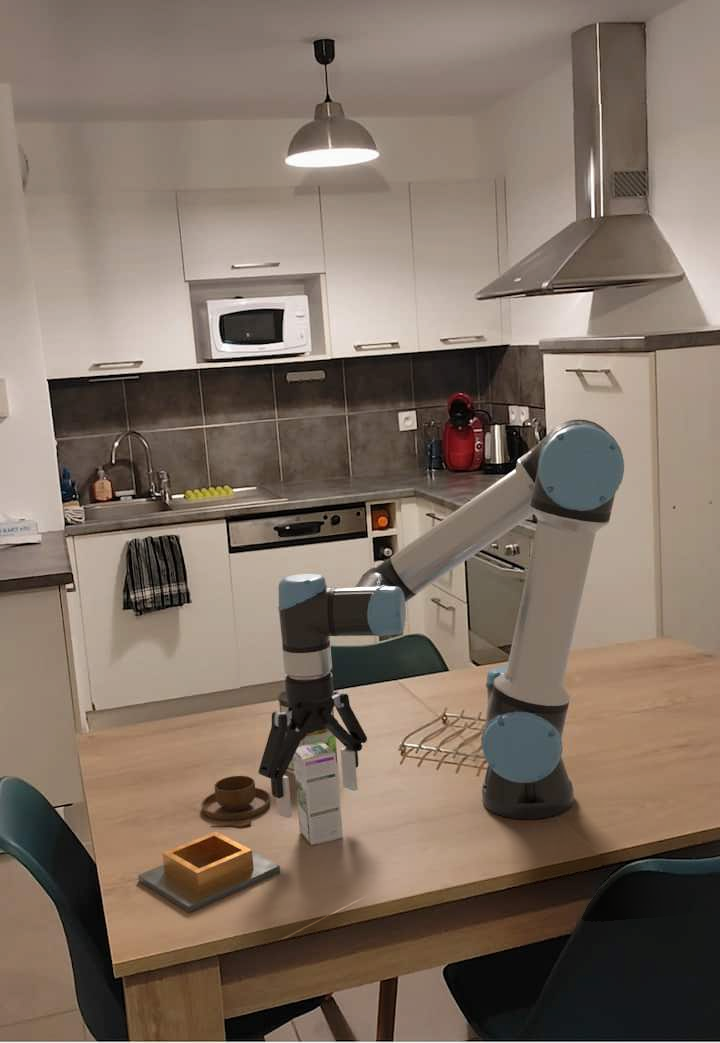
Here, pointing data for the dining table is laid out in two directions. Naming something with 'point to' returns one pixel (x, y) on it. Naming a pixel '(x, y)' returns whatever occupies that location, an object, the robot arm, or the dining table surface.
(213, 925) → the dining table surface
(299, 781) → the syrup box
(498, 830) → the dining table surface
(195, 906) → the wooden box on plate
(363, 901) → the dining table surface
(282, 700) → the coffee can
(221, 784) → the place setting
